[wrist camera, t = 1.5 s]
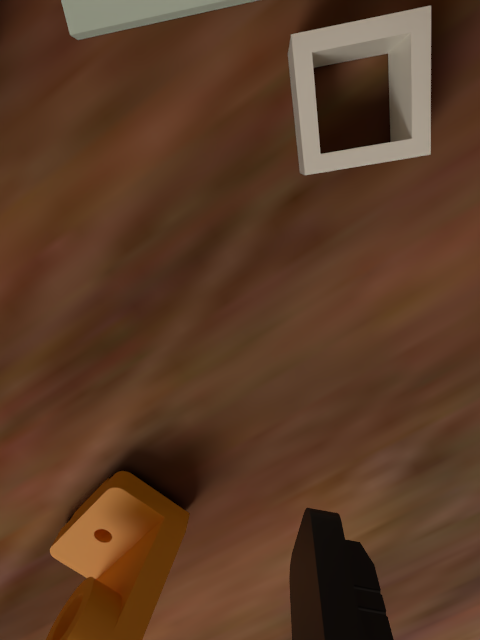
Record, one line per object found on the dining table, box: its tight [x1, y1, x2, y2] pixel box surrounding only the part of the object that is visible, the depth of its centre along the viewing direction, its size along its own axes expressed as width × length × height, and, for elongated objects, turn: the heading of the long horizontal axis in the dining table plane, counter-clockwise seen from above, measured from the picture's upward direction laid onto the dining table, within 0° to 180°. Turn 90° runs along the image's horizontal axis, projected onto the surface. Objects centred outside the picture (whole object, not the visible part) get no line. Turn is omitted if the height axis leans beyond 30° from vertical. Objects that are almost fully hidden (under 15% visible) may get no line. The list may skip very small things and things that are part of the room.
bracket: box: [46, 471, 190, 640], centre depth 32 cm, size 11×7×12 cm, turn 139°
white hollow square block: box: [288, 6, 431, 175], centre depth 22 cm, size 6×6×4 cm
